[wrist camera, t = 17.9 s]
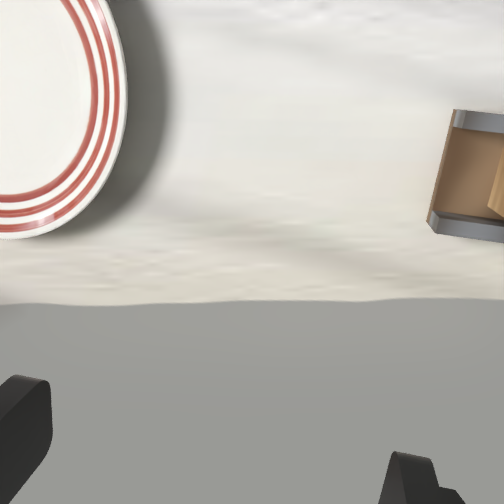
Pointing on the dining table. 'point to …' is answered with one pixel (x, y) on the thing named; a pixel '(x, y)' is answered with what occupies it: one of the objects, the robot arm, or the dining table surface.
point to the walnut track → (469, 178)
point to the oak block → (498, 189)
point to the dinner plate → (57, 110)
